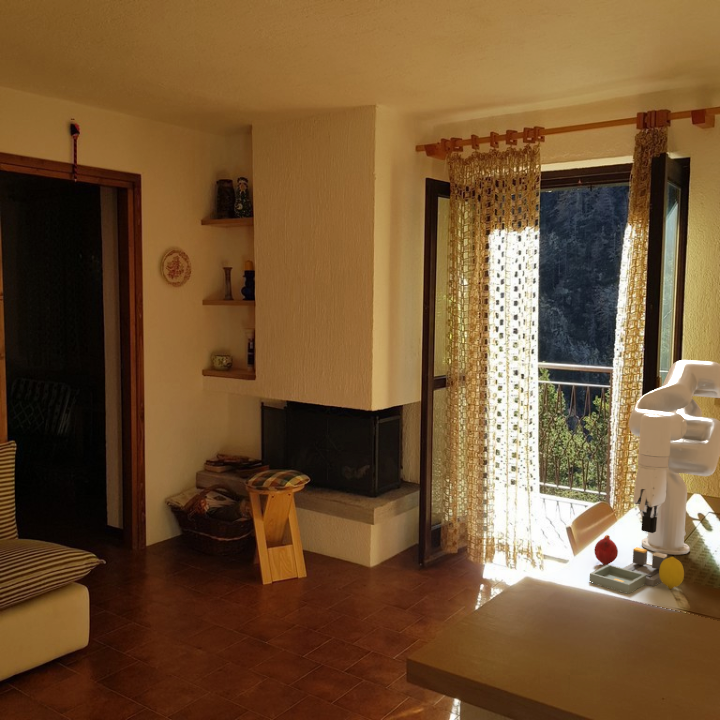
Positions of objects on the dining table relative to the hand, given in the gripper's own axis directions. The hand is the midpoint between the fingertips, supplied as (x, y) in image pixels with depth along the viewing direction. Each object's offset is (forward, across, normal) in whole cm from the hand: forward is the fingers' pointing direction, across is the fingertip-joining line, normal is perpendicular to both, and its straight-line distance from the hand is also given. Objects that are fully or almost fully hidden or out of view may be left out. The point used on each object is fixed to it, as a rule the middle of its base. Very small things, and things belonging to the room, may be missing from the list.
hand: (648, 531), depth 194 cm
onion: (+10, +6, -8) cm, 14 cm away
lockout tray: (+10, +16, 0) cm, 19 cm away
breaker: (+8, +4, +5) cm, 10 cm away
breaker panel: (+10, +6, +2) cm, 12 cm away
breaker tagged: (+8, +4, 0) cm, 9 cm away
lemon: (+10, +10, +10) cm, 18 cm away
